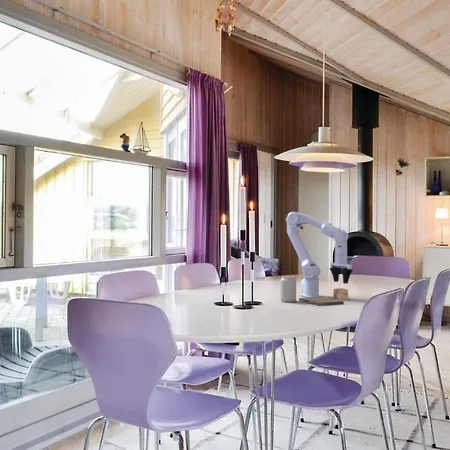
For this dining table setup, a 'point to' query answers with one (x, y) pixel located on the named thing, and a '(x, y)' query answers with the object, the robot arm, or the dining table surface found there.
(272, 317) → the dining table surface
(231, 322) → the dining table surface
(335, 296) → the oak block
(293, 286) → the can
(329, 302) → the serving board
